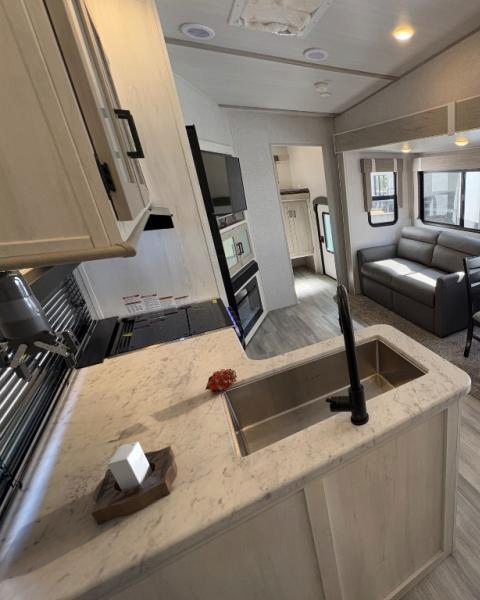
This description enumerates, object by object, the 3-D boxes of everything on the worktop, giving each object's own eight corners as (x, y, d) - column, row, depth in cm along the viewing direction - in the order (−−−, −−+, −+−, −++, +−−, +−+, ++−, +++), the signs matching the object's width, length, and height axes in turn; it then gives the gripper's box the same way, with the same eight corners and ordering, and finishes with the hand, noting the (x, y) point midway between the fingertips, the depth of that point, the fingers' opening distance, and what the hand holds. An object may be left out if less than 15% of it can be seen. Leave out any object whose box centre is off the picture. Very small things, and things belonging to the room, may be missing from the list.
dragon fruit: (242, 383, 125) (213, 403, 116) (229, 369, 126) (199, 388, 118) (242, 374, 119) (211, 394, 110) (228, 359, 120) (197, 378, 112)
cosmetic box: (136, 479, 82) (119, 445, 78) (154, 474, 84) (139, 440, 79) (125, 500, 77) (106, 464, 73) (145, 494, 78) (127, 458, 74)
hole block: (91, 531, 70) (83, 519, 69) (108, 479, 83) (103, 468, 82) (174, 494, 77) (169, 483, 76) (179, 452, 90) (174, 442, 89)
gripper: (66, 304, 81) (91, 358, 86) (-14, 317, 74) (18, 375, 80) (54, 313, 74) (81, 370, 80) (-35, 328, 68) (2, 389, 73)
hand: (50, 372), depth 80 cm, fingers open, 8 cm apart
